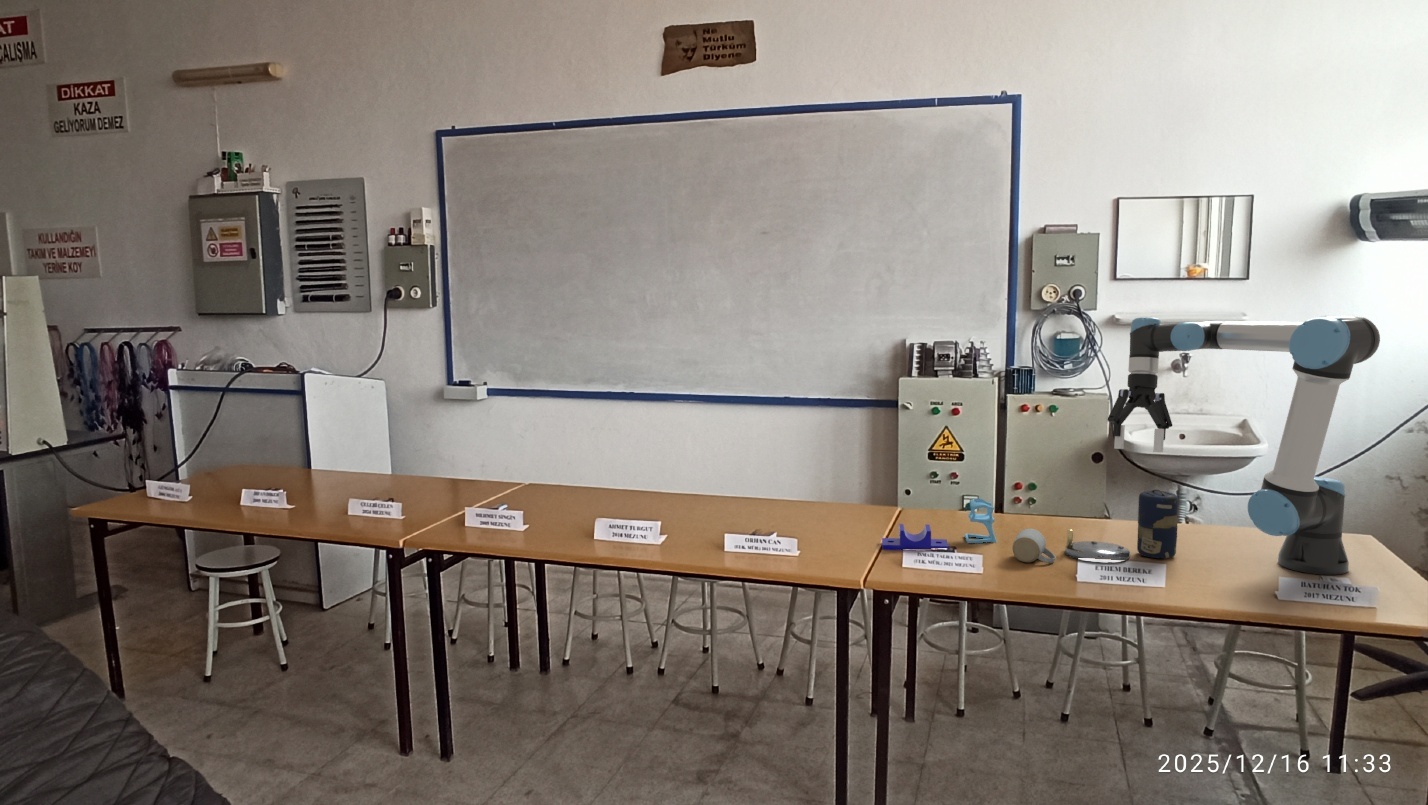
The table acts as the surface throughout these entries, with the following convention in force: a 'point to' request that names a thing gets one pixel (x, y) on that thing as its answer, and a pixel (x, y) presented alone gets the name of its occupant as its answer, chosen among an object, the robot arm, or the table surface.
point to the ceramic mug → (1031, 547)
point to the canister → (1157, 524)
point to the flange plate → (1094, 549)
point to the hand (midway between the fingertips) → (1138, 450)
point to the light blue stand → (981, 521)
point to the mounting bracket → (913, 540)
